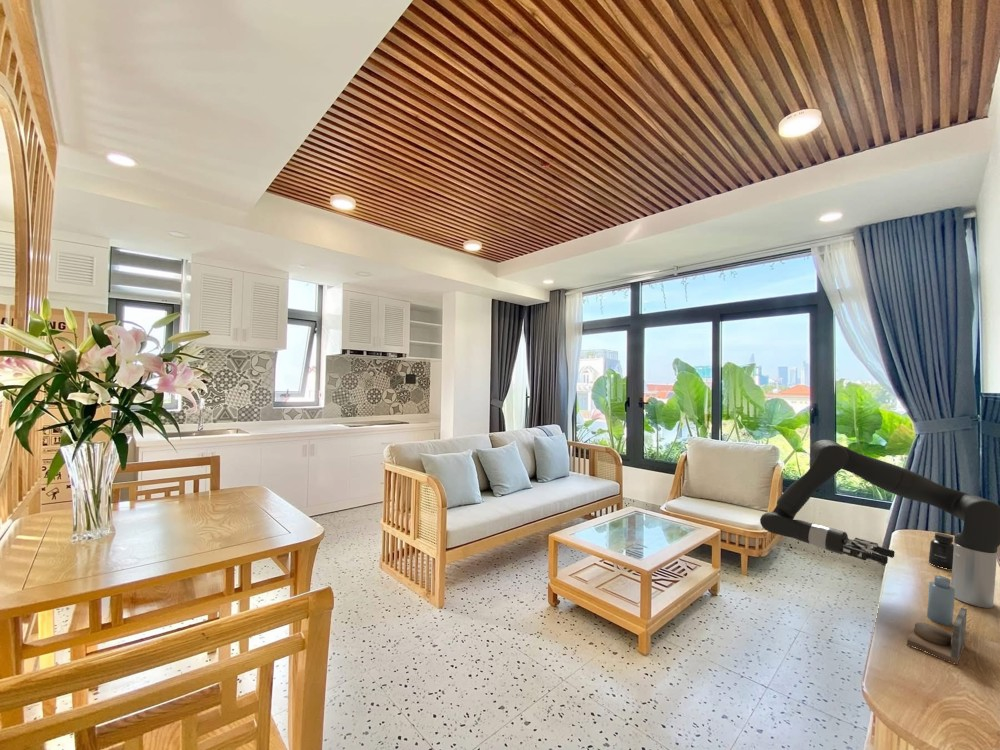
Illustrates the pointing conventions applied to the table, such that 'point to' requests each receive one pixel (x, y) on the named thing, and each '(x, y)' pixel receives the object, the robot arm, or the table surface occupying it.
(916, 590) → the table surface
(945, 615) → the blue grey bottle
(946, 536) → the supplement bottle
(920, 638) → the display stand
